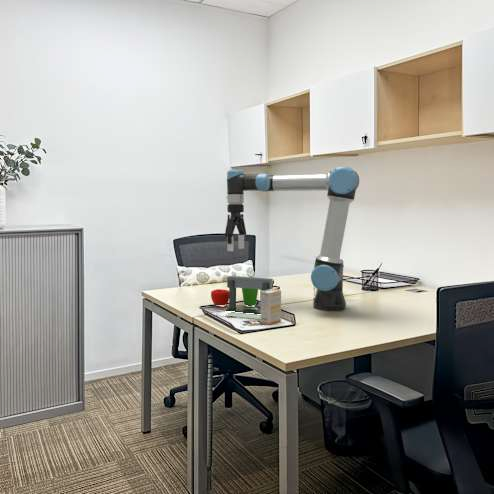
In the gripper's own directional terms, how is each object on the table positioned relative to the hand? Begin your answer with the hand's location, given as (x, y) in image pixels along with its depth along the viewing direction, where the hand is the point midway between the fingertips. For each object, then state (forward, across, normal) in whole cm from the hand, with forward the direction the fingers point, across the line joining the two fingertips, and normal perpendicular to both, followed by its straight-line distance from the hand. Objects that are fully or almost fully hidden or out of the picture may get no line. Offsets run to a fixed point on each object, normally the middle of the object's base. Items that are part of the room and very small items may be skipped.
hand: (236, 249), depth 233 cm
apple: (+27, +3, -7) cm, 28 cm away
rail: (+16, +10, +10) cm, 21 cm away
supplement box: (+27, +23, +24) cm, 43 cm away
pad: (+27, +18, +10) cm, 34 cm away
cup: (+27, -2, +6) cm, 28 cm away
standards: (+27, +10, +10) cm, 30 cm away
